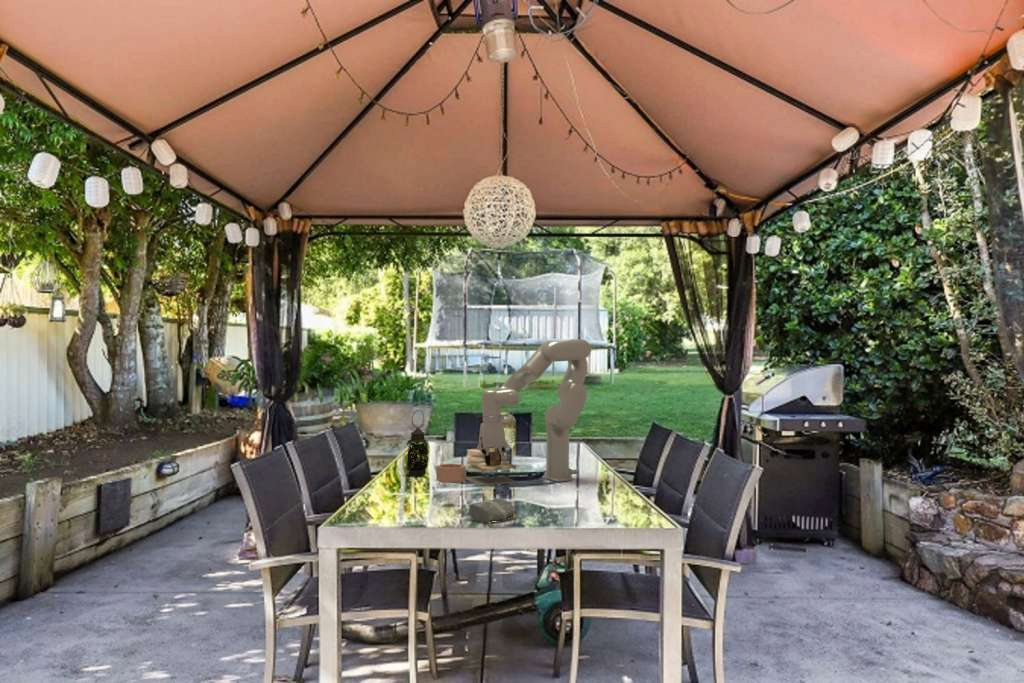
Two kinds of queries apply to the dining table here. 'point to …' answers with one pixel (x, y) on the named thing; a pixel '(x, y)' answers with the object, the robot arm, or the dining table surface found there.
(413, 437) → the lantern
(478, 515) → the decorative stone
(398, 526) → the dining table surface
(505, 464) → the lid
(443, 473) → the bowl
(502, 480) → the mat
